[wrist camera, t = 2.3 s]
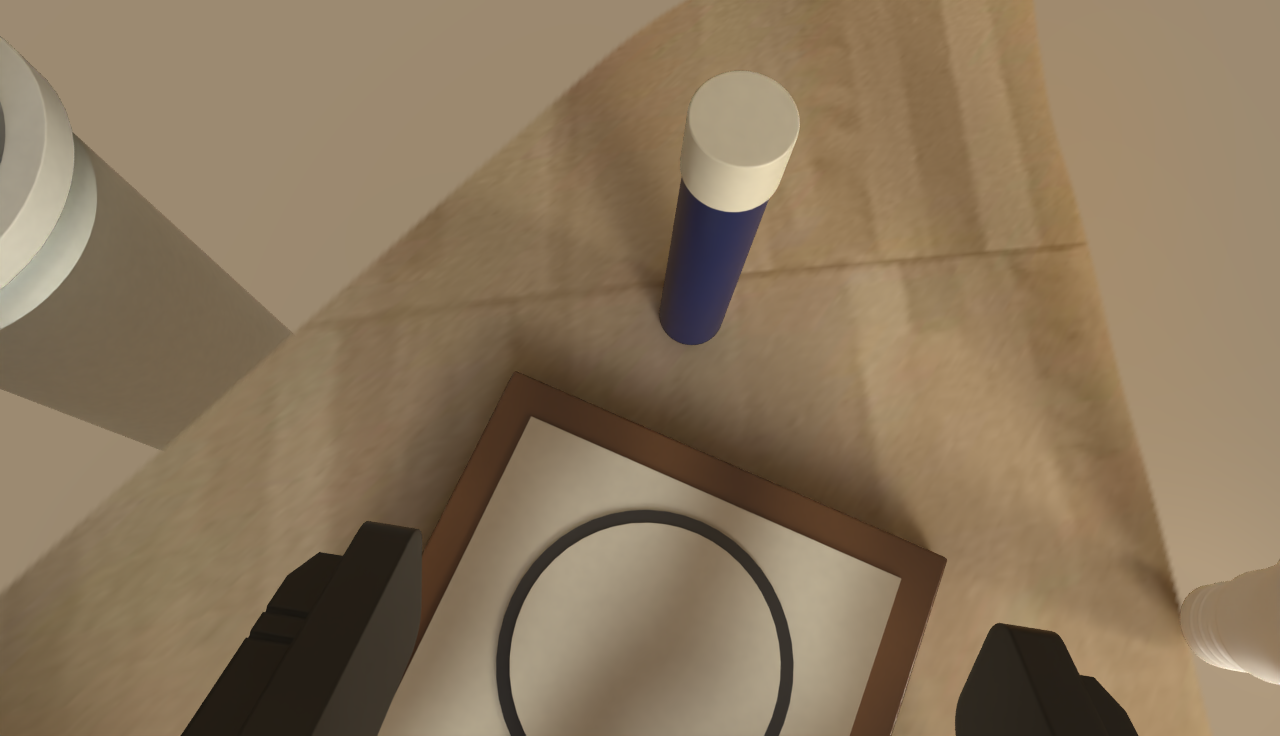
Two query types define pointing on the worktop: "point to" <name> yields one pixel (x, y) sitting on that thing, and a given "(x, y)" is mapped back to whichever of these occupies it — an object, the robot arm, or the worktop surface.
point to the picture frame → (650, 593)
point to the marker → (723, 195)
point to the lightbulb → (1237, 623)
